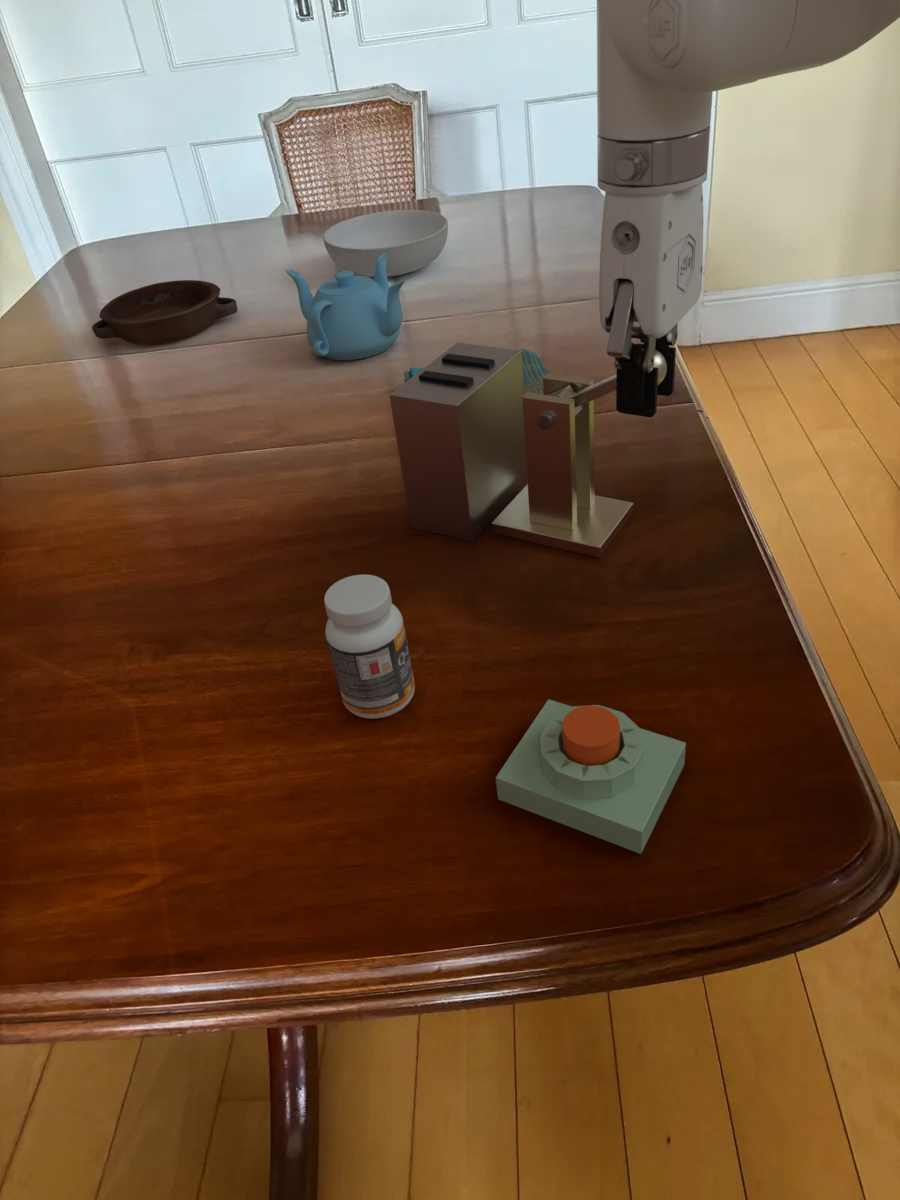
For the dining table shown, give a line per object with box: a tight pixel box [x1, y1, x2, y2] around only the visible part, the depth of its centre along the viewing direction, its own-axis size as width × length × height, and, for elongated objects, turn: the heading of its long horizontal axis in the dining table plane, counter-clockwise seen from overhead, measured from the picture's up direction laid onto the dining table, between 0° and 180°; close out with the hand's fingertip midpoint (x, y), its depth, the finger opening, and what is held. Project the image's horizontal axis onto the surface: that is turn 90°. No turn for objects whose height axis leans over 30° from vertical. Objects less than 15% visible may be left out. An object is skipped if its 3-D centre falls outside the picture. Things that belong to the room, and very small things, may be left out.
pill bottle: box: [323, 574, 416, 720], centre depth 66 cm, size 6×6×10 cm
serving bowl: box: [322, 209, 449, 279], centre depth 150 cm, size 21×21×7 cm
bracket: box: [491, 373, 634, 559], centre depth 81 cm, size 11×8×14 cm
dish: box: [91, 279, 238, 345], centre depth 138 cm, size 17×22×5 cm
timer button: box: [562, 705, 620, 765], centre depth 57 cm, size 4×4×2 cm
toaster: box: [389, 342, 528, 543], centre depth 85 cm, size 7×12×14 cm, turn 150°
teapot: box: [285, 253, 406, 361], centre depth 123 cm, size 15×15×10 cm
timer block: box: [495, 698, 687, 855], centre depth 59 cm, size 10×8×4 cm
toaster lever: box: [548, 349, 667, 416], centre depth 74 cm, size 12×3×3 cm, turn 60°
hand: (645, 400), depth 73 cm, fingers closed on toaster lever, 3 cm apart
